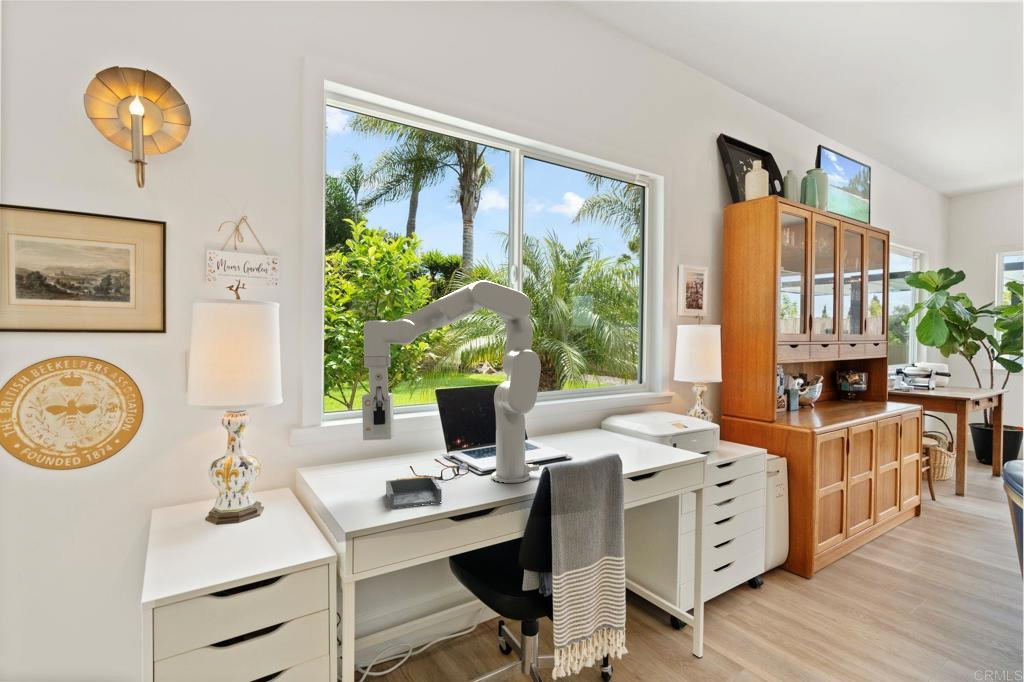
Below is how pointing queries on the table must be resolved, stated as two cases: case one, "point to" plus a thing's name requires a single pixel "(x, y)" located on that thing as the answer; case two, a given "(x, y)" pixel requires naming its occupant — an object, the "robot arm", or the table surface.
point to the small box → (369, 428)
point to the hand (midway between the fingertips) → (378, 421)
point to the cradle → (413, 491)
